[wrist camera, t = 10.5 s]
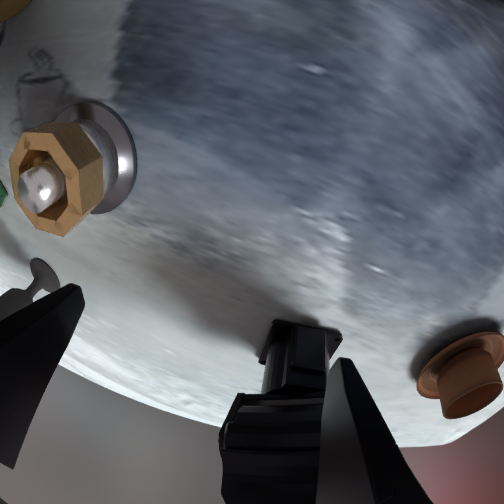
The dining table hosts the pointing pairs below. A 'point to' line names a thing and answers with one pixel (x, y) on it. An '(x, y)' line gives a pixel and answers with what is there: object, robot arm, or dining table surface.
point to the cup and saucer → (464, 374)
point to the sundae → (29, 289)
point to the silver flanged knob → (108, 144)
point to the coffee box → (2, 195)
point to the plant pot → (11, 8)
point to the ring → (72, 165)
